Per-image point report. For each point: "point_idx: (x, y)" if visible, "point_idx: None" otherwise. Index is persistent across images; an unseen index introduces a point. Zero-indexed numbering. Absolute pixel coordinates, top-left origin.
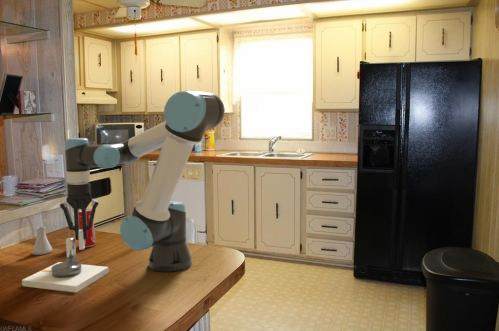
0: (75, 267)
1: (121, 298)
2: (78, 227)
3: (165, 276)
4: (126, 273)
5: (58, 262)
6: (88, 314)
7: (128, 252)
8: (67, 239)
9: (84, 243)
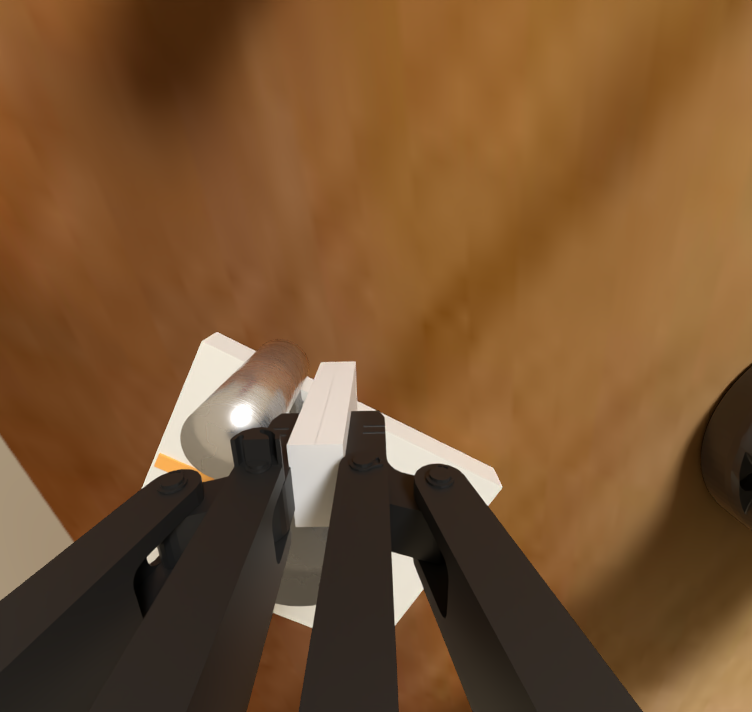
0: None
1: None
2: (283, 551)
3: (733, 562)
4: (575, 494)
5: (201, 348)
6: None
7: (643, 118)
8: (203, 461)
9: (353, 374)
